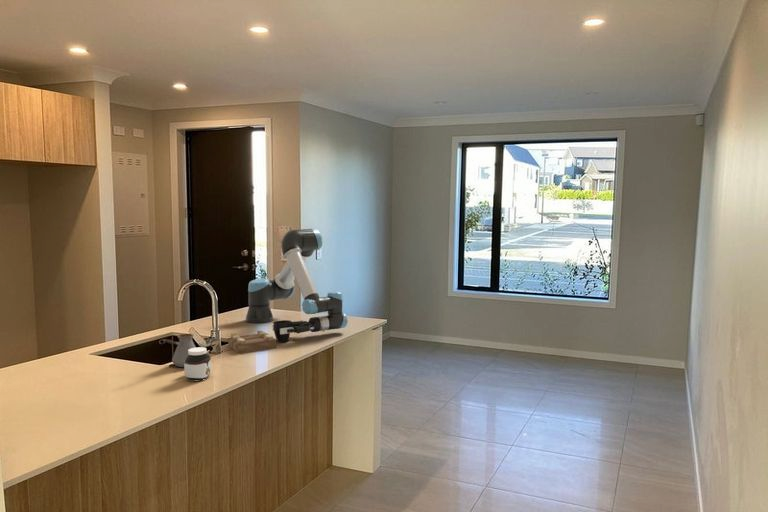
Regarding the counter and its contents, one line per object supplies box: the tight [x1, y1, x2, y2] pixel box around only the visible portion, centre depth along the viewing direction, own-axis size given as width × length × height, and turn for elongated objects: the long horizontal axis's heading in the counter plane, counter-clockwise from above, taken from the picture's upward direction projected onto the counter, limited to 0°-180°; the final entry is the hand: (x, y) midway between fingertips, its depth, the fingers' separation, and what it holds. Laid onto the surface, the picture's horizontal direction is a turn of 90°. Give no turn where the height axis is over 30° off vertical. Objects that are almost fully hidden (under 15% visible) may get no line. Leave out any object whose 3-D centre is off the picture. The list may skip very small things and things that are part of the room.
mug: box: [272, 319, 293, 343], centre depth 285 cm, size 8×12×10 cm
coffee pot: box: [159, 333, 197, 368], centre depth 239 cm, size 21×12×15 cm, turn 163°
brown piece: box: [227, 330, 277, 354], centre depth 273 cm, size 15×18×6 cm
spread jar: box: [183, 346, 212, 381], centre depth 228 cm, size 12×11×12 cm
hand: (276, 329), depth 282 cm, fingers closed on mug, 9 cm apart
